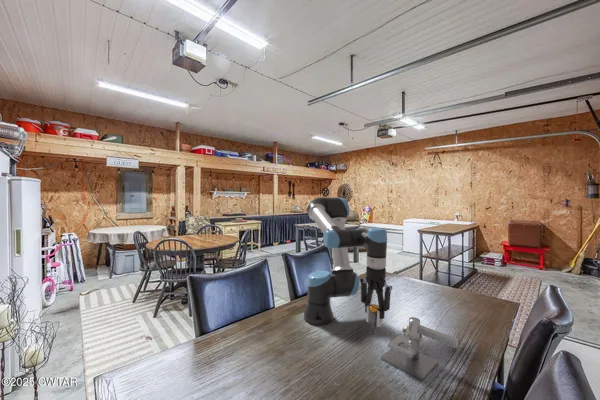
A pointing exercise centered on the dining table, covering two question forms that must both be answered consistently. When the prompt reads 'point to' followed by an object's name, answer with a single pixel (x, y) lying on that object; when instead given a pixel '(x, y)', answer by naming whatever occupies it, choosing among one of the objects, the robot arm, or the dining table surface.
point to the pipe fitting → (406, 331)
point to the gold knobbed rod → (373, 317)
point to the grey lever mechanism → (415, 350)
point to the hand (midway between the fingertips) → (374, 323)
